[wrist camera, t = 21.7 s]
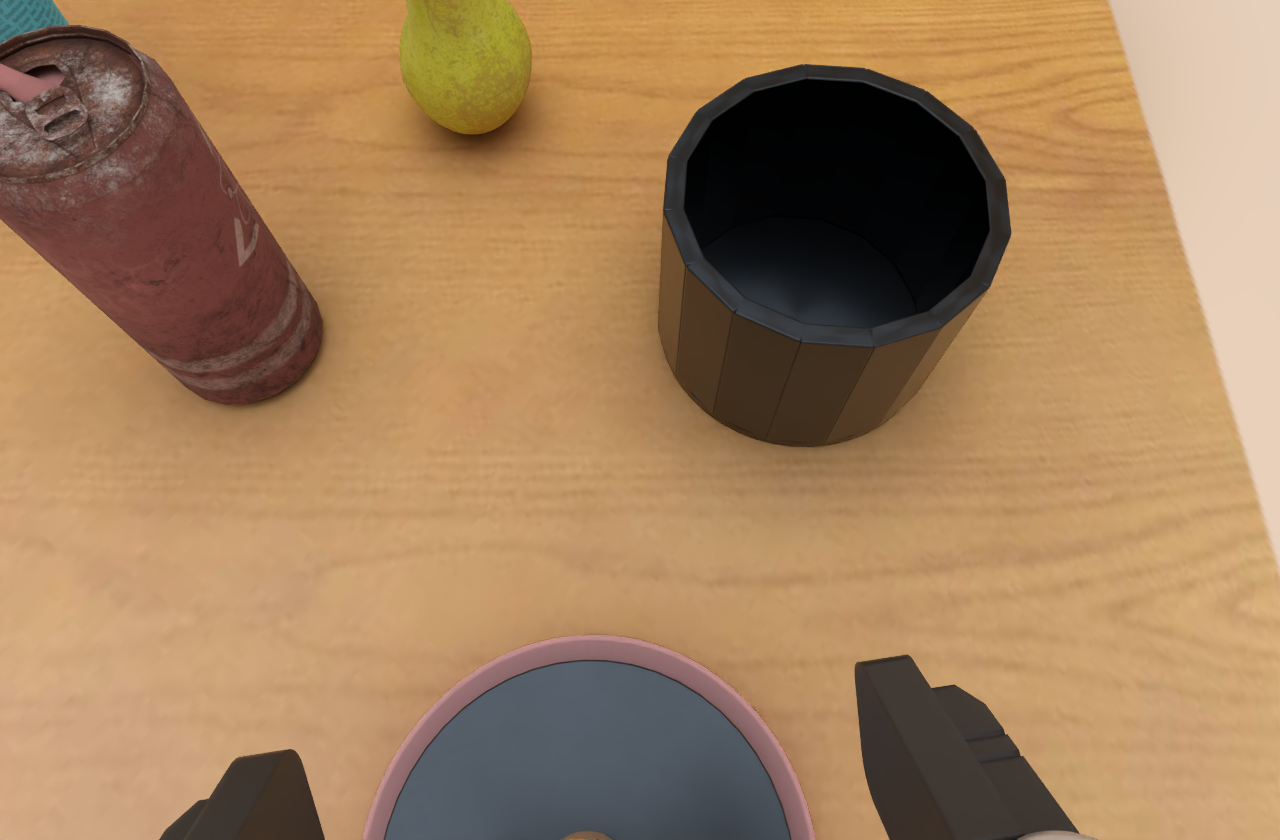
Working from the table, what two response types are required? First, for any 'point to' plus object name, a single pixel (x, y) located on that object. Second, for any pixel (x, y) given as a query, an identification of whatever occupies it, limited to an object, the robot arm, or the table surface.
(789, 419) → the tin
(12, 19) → the tube
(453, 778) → the lid
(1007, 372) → the table surface
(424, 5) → the fruit
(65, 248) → the can
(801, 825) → the plate
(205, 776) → the table surface
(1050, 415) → the table surface
